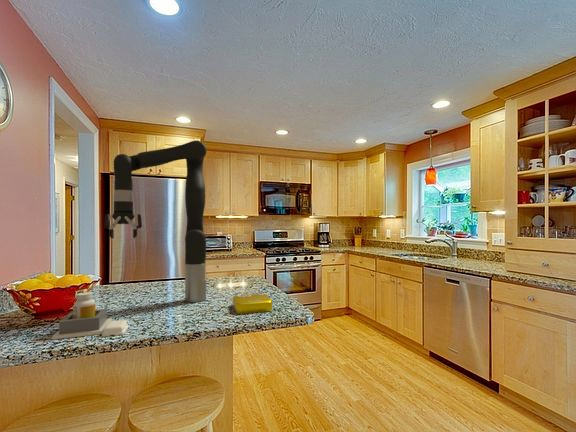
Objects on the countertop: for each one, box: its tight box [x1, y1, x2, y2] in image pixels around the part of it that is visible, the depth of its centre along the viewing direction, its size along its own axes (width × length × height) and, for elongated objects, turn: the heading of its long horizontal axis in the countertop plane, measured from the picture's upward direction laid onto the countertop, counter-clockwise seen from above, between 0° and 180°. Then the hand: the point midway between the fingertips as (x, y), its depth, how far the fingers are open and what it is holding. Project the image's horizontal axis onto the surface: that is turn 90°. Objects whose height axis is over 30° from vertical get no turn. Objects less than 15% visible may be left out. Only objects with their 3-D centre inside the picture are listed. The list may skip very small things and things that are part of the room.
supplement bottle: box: [72, 291, 96, 319], centre depth 104 cm, size 6×6×11 cm
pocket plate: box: [51, 308, 113, 340], centre depth 103 cm, size 14×14×5 cm
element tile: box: [232, 293, 273, 315], centre depth 129 cm, size 15×15×5 cm
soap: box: [101, 319, 129, 337], centre depth 102 cm, size 9×7×3 cm
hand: (123, 238), depth 130 cm, fingers open, 8 cm apart
